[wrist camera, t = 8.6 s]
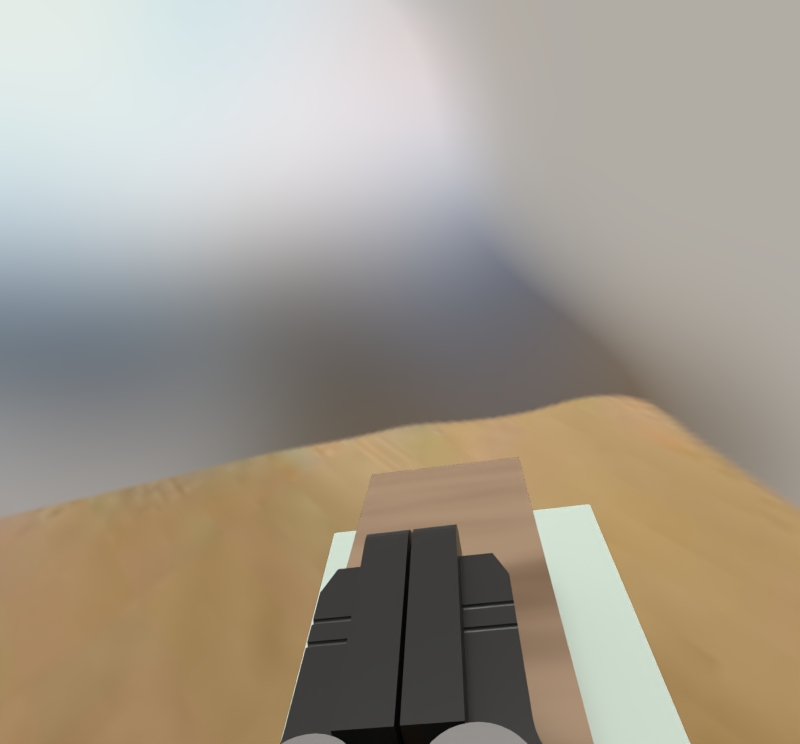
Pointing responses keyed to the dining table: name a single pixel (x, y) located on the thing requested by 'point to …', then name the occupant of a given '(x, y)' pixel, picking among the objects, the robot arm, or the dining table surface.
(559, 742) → the walnut block
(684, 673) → the dining table surface
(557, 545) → the sage mat
